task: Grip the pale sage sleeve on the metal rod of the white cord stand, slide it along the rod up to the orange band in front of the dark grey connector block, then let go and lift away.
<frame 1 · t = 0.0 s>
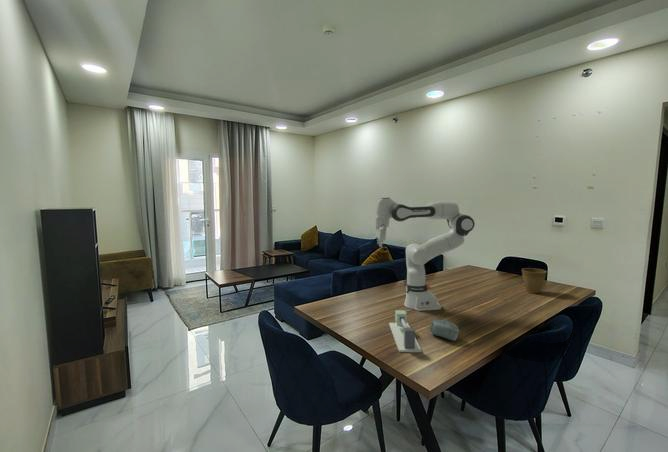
hand: (379, 245, 196), 39 cm above the table, fingers open, 8 cm apart
plant pot: (532, 292, 225), on the table
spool: (444, 337, 156), on the table
cord stand: (403, 336, 156), on the table
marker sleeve: (400, 317, 164), point 7 cm above the table, slide at -8.0 cm
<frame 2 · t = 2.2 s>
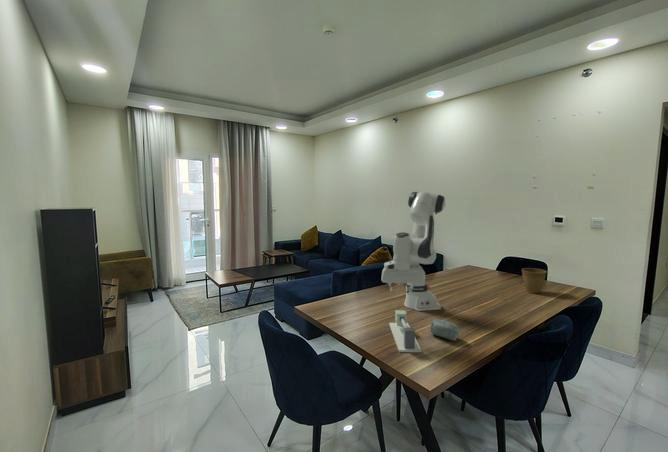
hand: (401, 290, 162), 21 cm above the table, fingers open, 8 cm apart
nothing on the table moved.
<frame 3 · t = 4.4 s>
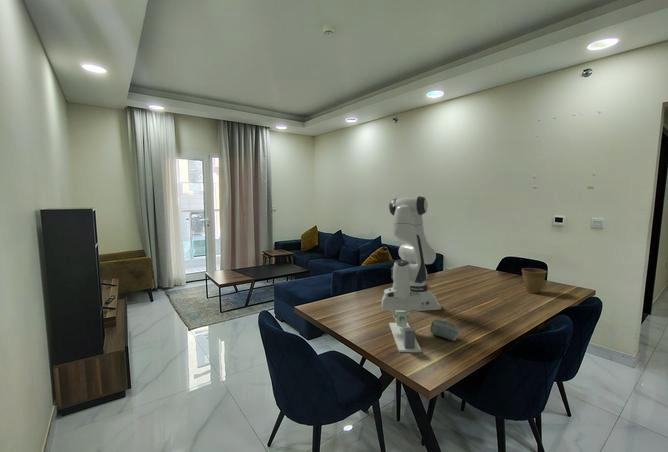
hand: (400, 317, 164), 7 cm above the table, fingers closed on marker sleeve, 5 cm apart
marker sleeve: (400, 317, 164), point 7 cm above the table, slide at -8.0 cm, touching gripper
everything else where it was.
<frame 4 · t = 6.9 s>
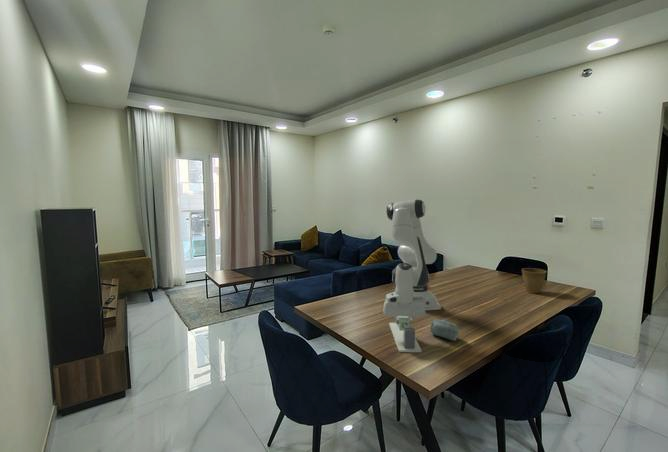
hand: (403, 323, 156), 7 cm above the table, fingers open, 5 cm apart
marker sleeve: (403, 323, 156), point 7 cm above the table, slide at -0.3 cm, touching gripper
everything else where it was.
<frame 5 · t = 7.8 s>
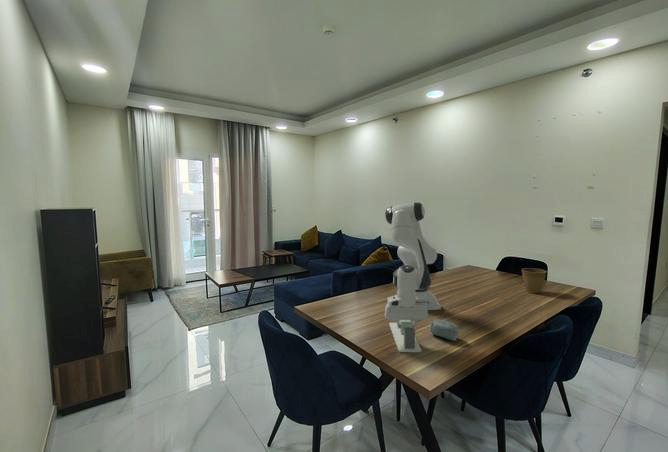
hand: (405, 328, 151), 7 cm above the table, fingers closed on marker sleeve, 5 cm apart
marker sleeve: (405, 327, 151), point 7 cm above the table, slide at 4.7 cm, touching gripper
everything else where it was.
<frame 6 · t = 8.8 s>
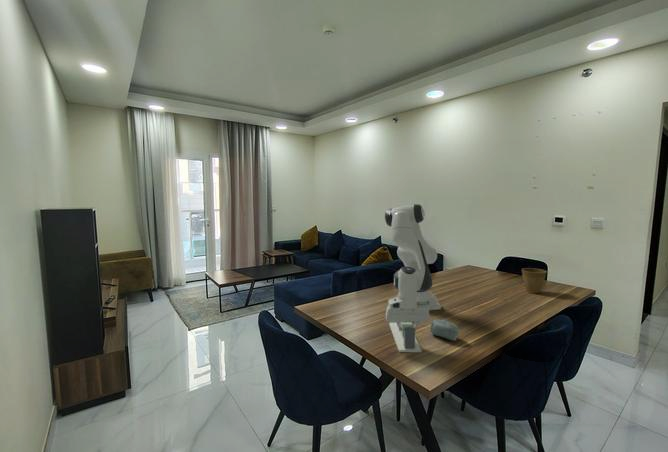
hand: (407, 330, 148), 7 cm above the table, fingers closed on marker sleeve, 5 cm apart
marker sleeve: (407, 330, 148), point 7 cm above the table, slide at 7.5 cm, touching gripper
everything else where it was.
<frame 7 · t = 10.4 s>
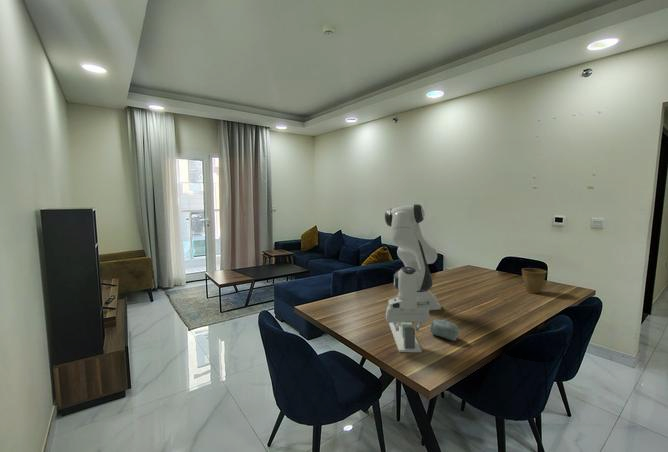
hand: (407, 330, 148), 7 cm above the table, fingers open, 8 cm apart
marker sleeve: (407, 330, 148), point 7 cm above the table, slide at 7.6 cm
everything else where it was.
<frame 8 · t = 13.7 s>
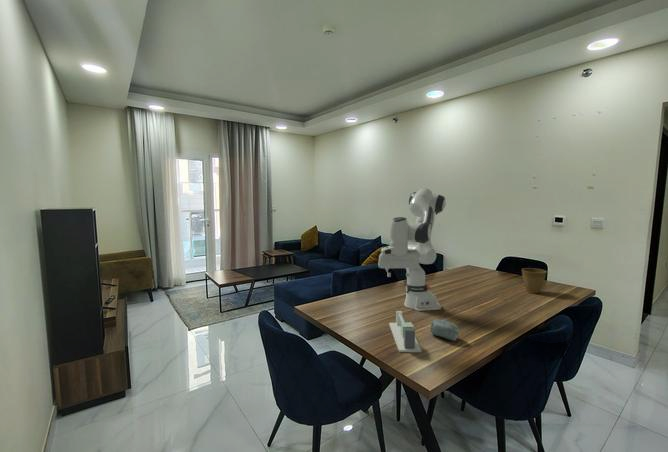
hand: (398, 276, 159), 29 cm above the table, fingers open, 8 cm apart
nothing on the table moved.
at the end: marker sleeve slide at 7.6 cm; the gripper is holding nothing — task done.
